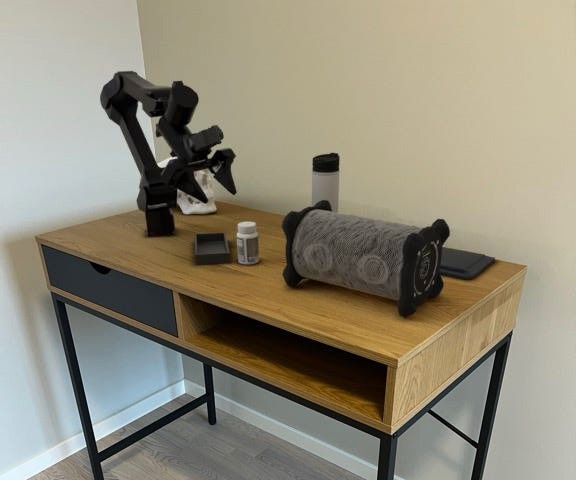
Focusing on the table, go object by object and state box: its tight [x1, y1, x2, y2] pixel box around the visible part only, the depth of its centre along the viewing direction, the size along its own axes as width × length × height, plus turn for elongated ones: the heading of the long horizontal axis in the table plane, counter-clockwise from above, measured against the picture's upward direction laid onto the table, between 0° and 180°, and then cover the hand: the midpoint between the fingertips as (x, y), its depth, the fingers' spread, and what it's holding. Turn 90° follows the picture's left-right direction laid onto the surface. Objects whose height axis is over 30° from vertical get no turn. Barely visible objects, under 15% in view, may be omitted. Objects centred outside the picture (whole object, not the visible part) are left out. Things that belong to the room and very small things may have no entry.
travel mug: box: [311, 152, 341, 213], centre depth 139 cm, size 6×7×20 cm
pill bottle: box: [236, 221, 260, 265], centre depth 130 cm, size 5×5×8 cm
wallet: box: [439, 246, 496, 281], centre depth 130 cm, size 20×2×15 cm
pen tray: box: [194, 231, 231, 266], centre depth 137 cm, size 16×8×2 cm, turn 8°
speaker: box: [281, 200, 451, 318], centre depth 112 cm, size 15×29×15 cm, turn 53°
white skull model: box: [157, 156, 217, 216], centre depth 170 cm, size 14×20×19 cm
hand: (221, 198), depth 129 cm, fingers open, 9 cm apart
